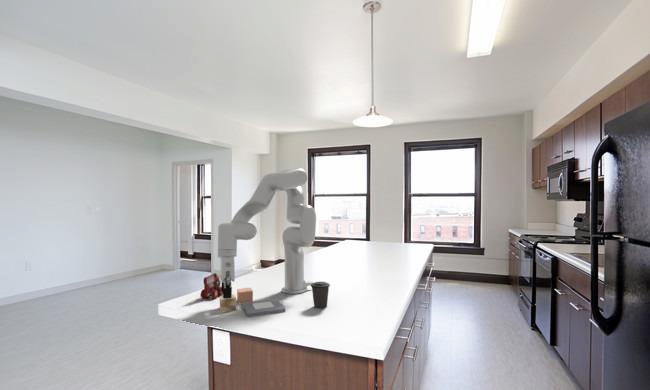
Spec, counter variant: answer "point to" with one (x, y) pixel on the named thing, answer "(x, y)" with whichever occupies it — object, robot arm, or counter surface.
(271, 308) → the baseplate
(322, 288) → the coffee cup
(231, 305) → the oak brick
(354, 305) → the counter surface
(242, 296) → the terracotta brick
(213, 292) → the toy fire truck
